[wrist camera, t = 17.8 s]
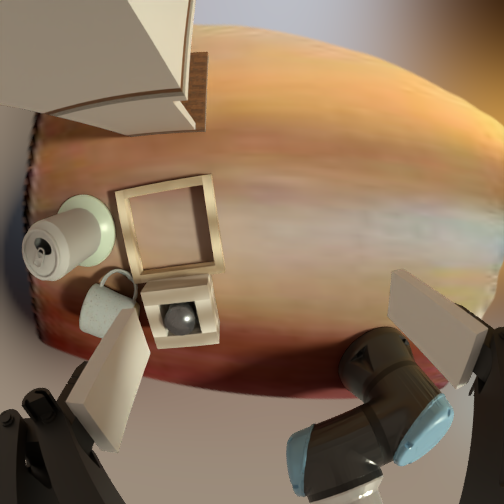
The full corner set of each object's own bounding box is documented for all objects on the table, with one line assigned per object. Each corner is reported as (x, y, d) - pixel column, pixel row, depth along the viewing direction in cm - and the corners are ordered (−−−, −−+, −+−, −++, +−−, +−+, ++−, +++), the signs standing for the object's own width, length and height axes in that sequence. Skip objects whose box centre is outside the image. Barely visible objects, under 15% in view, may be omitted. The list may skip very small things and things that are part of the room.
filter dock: (233, 320, 43) (234, 341, 37) (152, 328, 42) (143, 349, 37) (211, 174, 37) (209, 174, 31) (120, 190, 36) (103, 194, 30)
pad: (122, 260, 39) (121, 262, 38) (66, 268, 38) (64, 270, 38) (108, 187, 36) (106, 188, 35) (52, 202, 35) (49, 203, 34)
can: (110, 219, 36) (68, 240, 25) (95, 263, 38) (57, 297, 26) (71, 199, 35) (22, 213, 23) (59, 243, 36) (14, 268, 25)
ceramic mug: (137, 332, 42) (124, 359, 35) (94, 314, 41) (75, 338, 34) (150, 276, 40) (136, 297, 33) (103, 258, 39) (81, 275, 31)
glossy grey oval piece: (200, 315, 40) (197, 334, 36) (174, 318, 40) (168, 336, 35) (194, 291, 39) (190, 308, 34) (168, 294, 39) (161, 311, 34)
